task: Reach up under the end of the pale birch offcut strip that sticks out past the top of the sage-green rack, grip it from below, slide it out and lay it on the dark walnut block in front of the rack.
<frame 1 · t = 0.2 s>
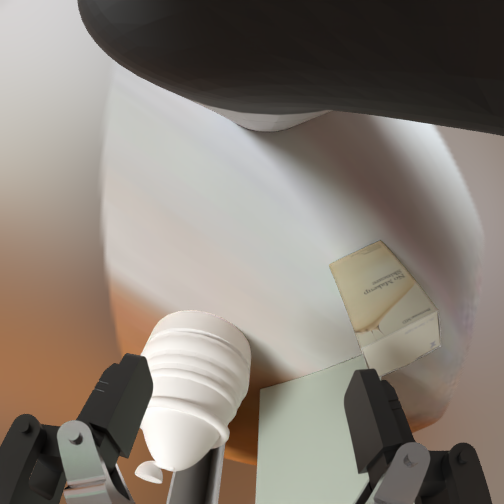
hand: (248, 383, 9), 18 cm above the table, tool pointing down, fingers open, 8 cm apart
honey pot: (200, 349, 33), on the table
skincare box: (359, 268, 27), on the table
folded grey card: (206, 411, 39), on the table
rack: (326, 394, 35), on the table
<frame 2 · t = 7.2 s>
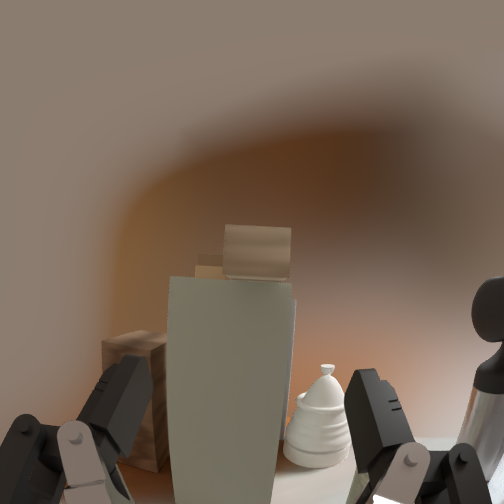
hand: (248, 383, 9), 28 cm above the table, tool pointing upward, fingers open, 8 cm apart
honey pot: (315, 451, 41), on the table
birch strip: (256, 282, 29), point 32 cm above the table, touching rack
walnut block: (149, 448, 37), on the table
folded grey card: (249, 434, 48), on the table
rack: (226, 485, 30), on the table
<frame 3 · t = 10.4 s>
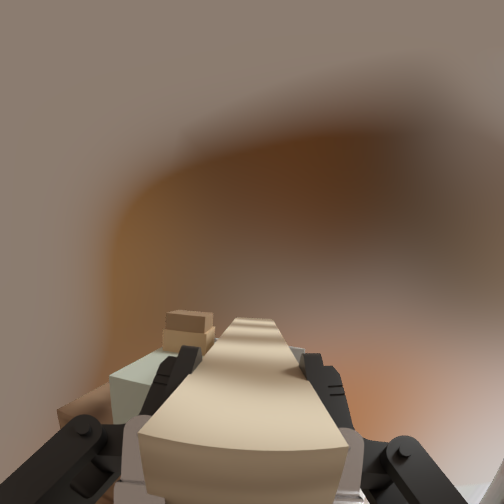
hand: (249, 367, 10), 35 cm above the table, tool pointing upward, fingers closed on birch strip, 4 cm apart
birch strip: (250, 381, 16), point 32 cm above the table, touching gripper, rack
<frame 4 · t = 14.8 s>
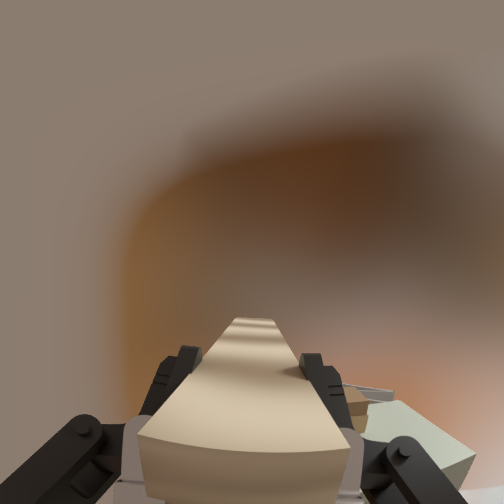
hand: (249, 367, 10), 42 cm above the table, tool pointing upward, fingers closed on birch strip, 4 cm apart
birch strip: (250, 381, 16), point 39 cm above the table, touching gripper
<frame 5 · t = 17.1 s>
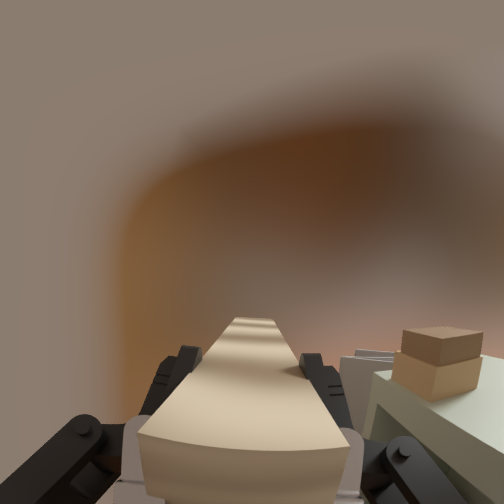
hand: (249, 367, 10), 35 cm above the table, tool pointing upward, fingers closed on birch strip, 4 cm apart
birch strip: (249, 381, 16), point 32 cm above the table, touching gripper
when the fingers open (26 cm above the table, at t = 19.0 s): birch strip drops 1 cm, resting on walnut block.
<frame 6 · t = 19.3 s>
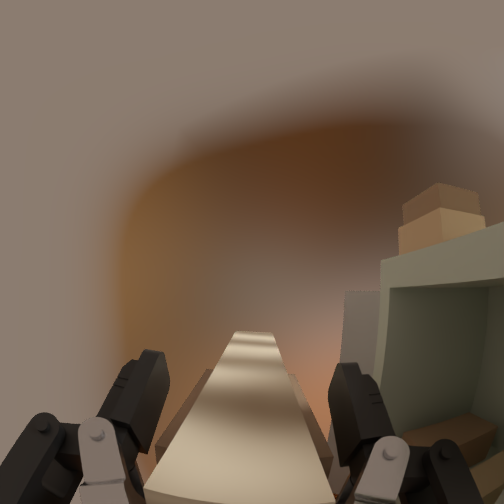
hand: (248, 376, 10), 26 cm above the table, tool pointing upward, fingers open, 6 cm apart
birch strip: (249, 402, 16), point 22 cm above the table, touching walnut block
folded grey card: (366, 491, 24), on the table
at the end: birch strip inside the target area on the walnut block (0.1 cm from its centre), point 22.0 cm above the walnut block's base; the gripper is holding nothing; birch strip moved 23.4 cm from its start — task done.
